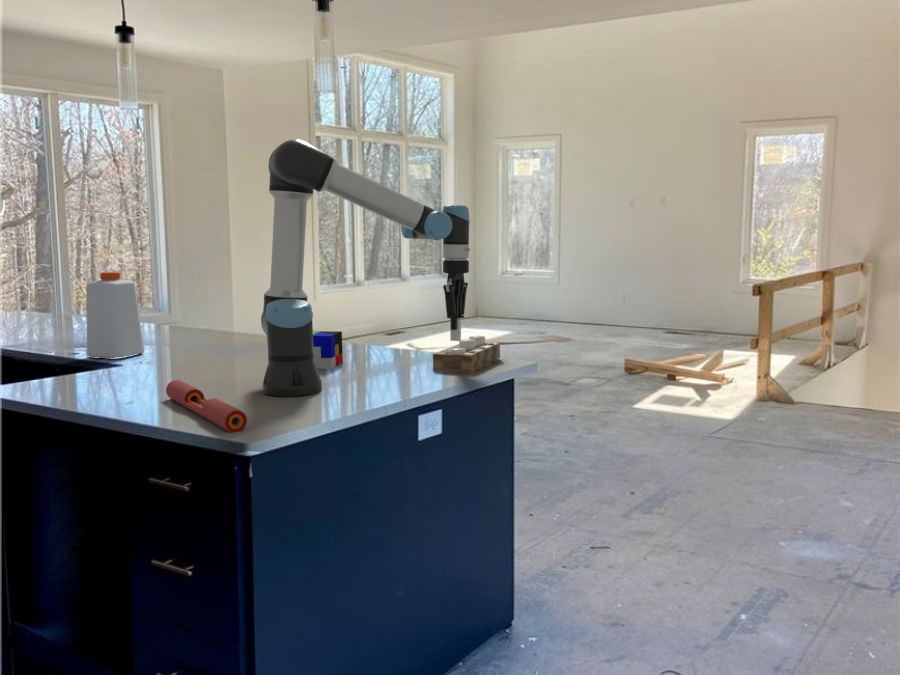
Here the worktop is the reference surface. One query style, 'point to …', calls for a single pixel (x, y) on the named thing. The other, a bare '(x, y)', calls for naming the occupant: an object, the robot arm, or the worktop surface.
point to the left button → (457, 351)
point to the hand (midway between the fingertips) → (455, 340)
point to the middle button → (467, 344)
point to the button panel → (466, 359)
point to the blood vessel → (207, 406)
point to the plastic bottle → (112, 317)
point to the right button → (478, 340)
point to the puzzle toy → (327, 349)
